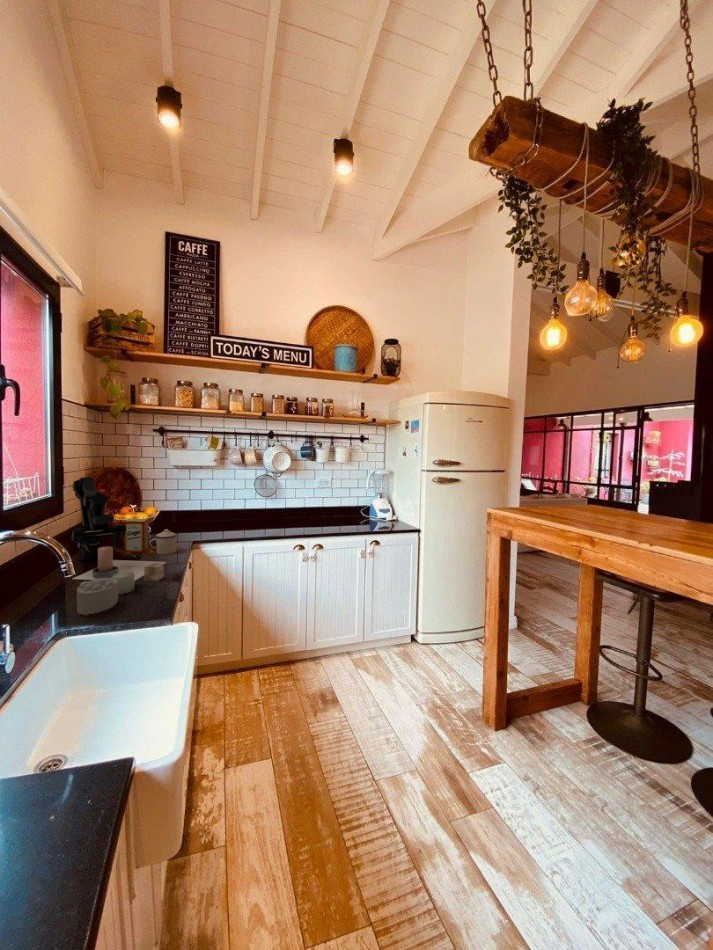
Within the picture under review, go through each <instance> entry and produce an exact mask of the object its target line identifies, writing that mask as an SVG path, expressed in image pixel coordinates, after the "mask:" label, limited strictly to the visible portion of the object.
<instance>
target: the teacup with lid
mask: <svg viewBox="0 0 713 950" xmlns="http://www.w3.org/2000/svg"><path fill="white" fill-rule="evenodd" d="M155 535H156V536H155V537H156V538H152V539H151V540H150V539H149V547H150V548H152V549H155V550H156V553H157V554H158V555H171V554H174V553H176V549H177V548H176V544H177V543H176V542H177V540H176V538H177V534H176V533H175V532H172V531H170V530H169V529H168V528H165V529H164V530H163V531H161V532H160V533H157V534H155ZM153 541H156V546H153V545H152V542H153Z"/></svg>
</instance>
